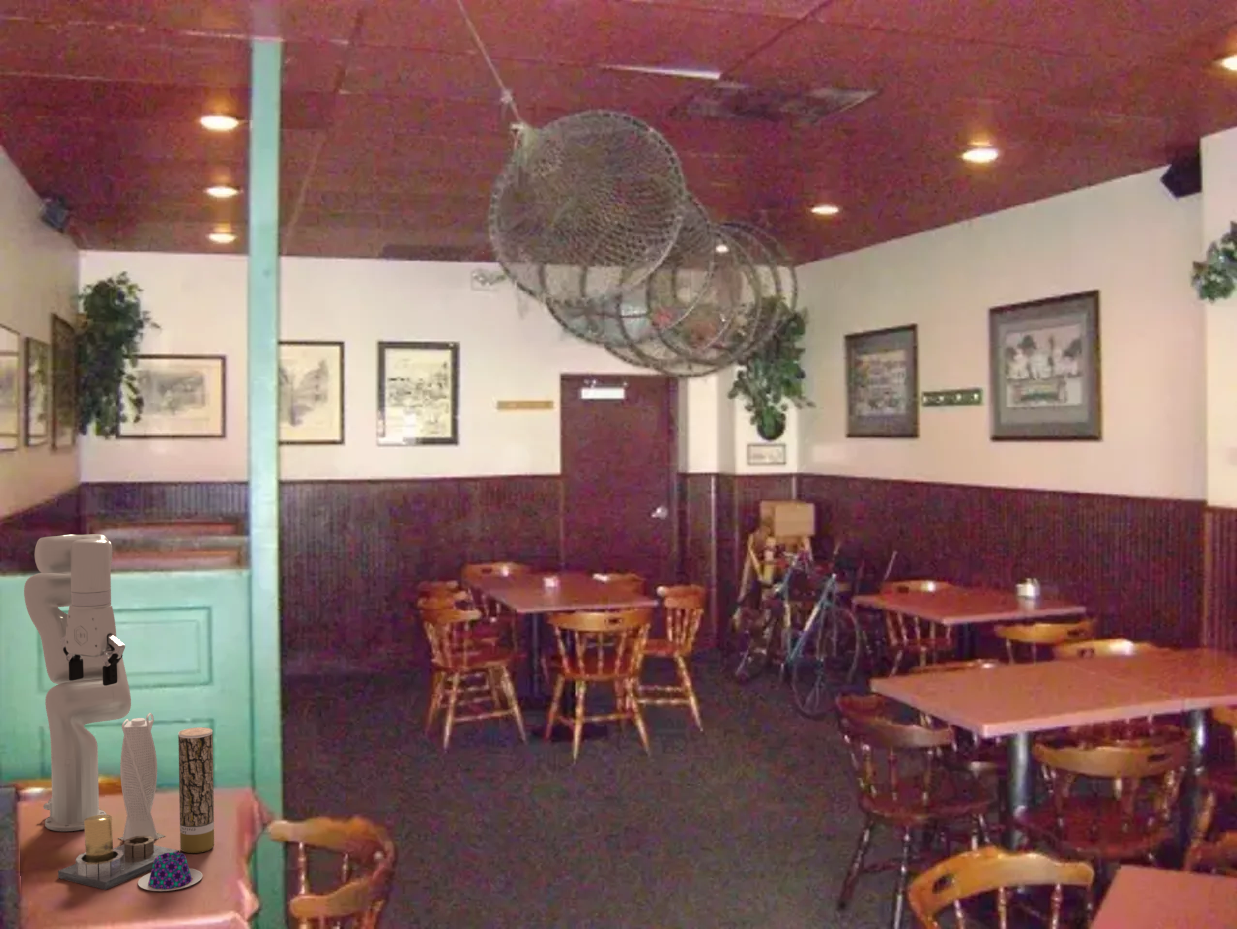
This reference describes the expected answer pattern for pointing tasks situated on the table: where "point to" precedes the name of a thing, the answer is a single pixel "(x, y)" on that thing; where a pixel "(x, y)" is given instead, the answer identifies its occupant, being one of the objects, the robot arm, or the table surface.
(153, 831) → the skyscraper
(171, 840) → the table surface
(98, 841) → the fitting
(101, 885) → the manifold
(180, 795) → the paper tube
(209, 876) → the table surface
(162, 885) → the pudding
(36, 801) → the table surface
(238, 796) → the table surface
